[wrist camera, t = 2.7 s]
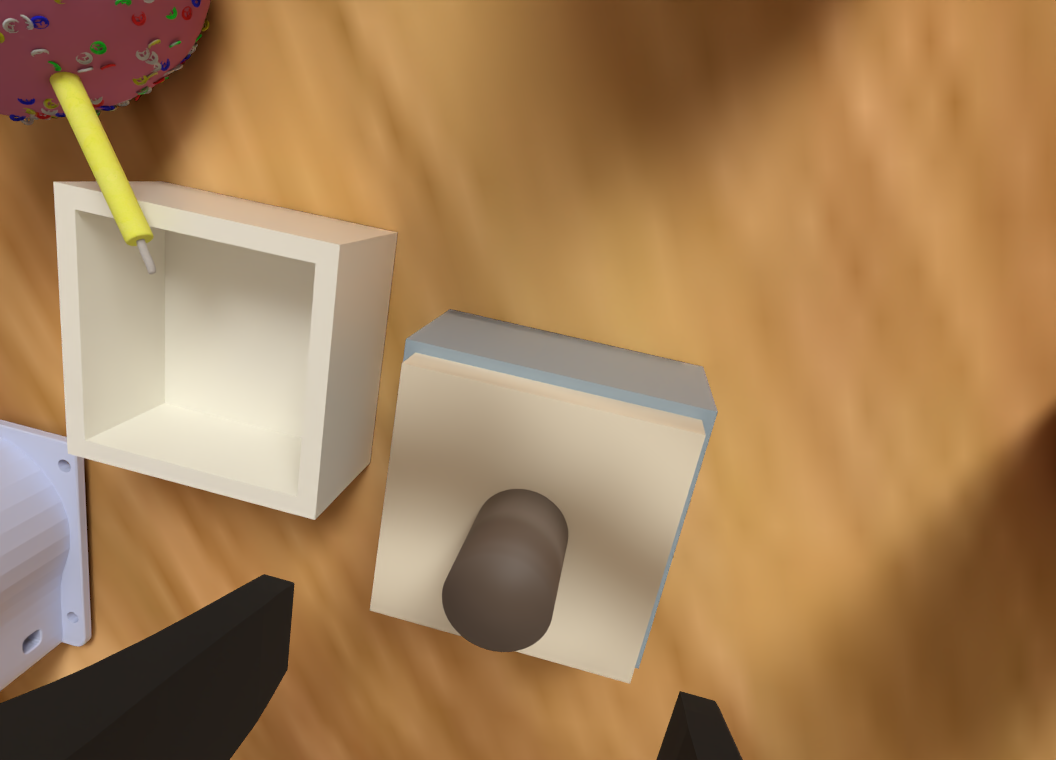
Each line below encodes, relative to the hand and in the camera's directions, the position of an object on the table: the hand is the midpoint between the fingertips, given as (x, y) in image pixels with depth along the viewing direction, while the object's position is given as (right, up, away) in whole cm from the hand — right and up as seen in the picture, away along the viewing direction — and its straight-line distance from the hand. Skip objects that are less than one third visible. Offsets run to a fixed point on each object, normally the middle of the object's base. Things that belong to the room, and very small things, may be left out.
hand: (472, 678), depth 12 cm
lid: (+1, +2, +6) cm, 6 cm away
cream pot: (-8, +7, +10) cm, 14 cm away
